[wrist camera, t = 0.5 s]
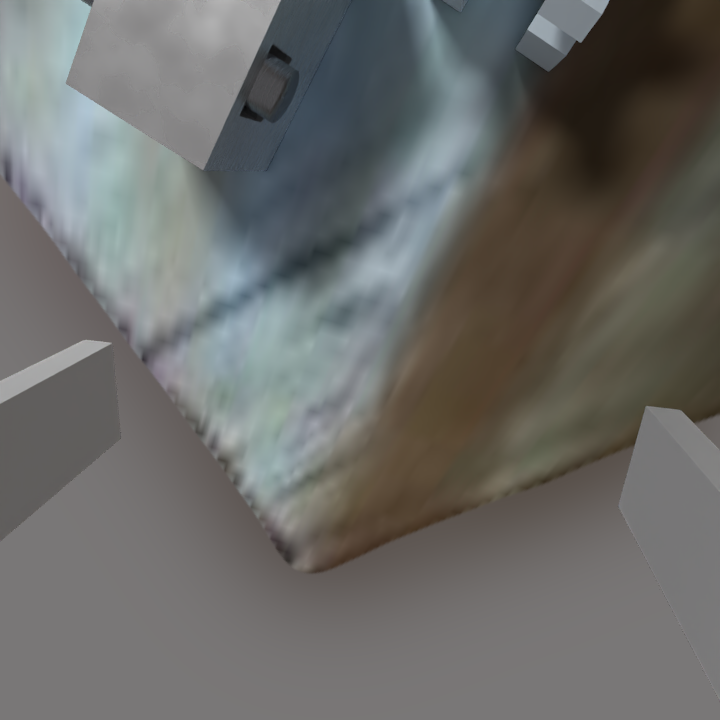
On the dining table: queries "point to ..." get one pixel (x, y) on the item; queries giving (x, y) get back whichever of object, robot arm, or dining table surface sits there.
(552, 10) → the v stand
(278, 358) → the dining table surface
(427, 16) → the dining table surface
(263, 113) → the axle
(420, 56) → the dining table surface
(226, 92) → the grey box
